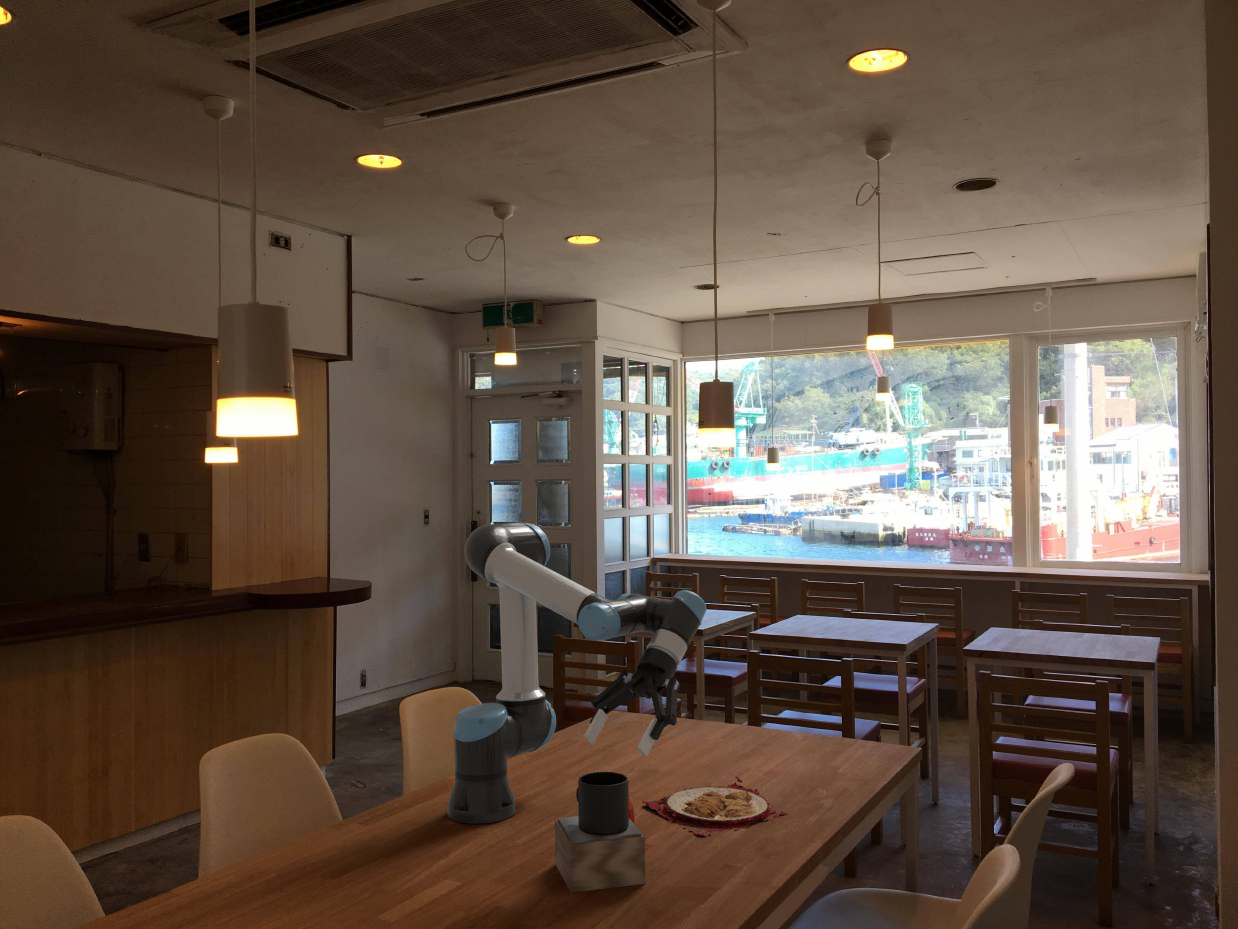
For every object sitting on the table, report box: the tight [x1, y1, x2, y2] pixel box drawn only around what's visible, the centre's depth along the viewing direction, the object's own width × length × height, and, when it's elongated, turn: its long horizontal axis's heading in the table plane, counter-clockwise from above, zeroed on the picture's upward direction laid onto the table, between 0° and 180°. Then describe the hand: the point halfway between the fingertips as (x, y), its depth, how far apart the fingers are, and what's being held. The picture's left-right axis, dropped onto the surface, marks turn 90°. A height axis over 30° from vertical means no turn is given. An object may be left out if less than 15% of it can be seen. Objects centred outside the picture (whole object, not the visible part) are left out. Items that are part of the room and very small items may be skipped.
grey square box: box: [554, 815, 646, 893], centre depth 186 cm, size 14×14×9 cm
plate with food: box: [641, 775, 789, 837], centre depth 222 cm, size 25×26×4 cm
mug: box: [575, 771, 630, 835], centre depth 186 cm, size 9×12×9 cm
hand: (614, 746), depth 190 cm, fingers open, 13 cm apart
